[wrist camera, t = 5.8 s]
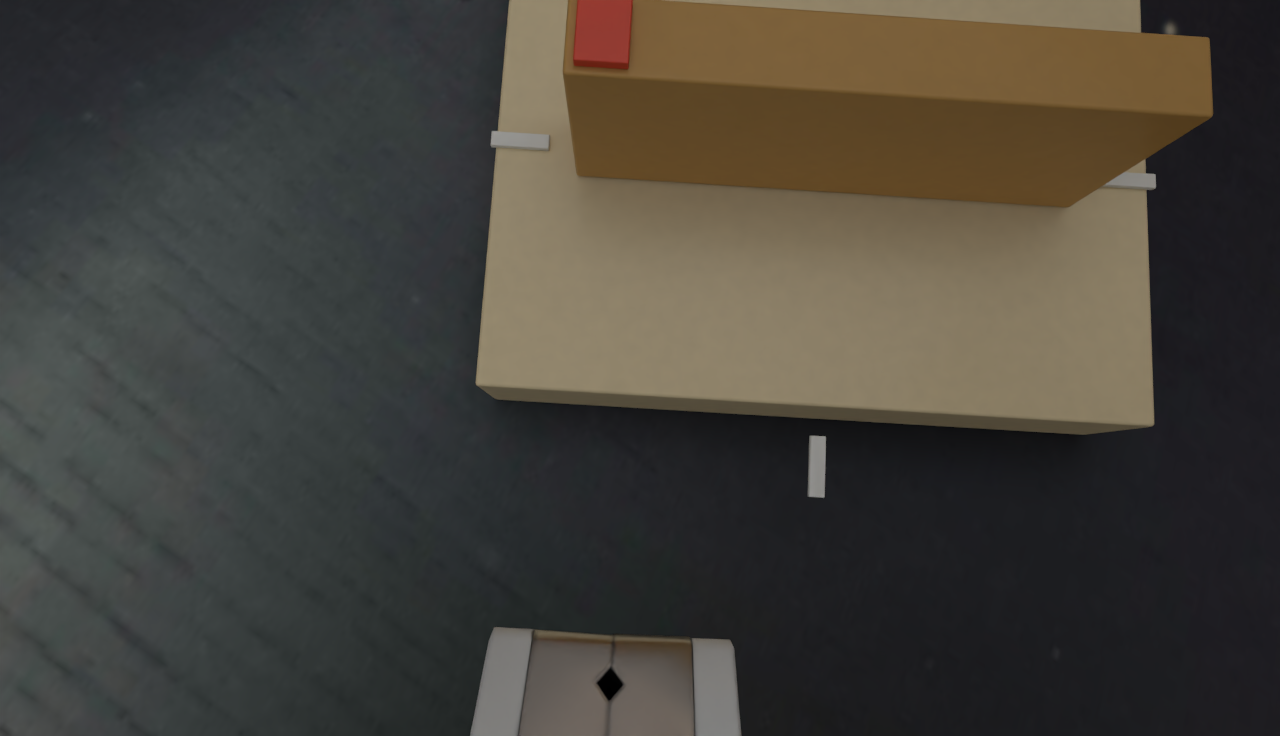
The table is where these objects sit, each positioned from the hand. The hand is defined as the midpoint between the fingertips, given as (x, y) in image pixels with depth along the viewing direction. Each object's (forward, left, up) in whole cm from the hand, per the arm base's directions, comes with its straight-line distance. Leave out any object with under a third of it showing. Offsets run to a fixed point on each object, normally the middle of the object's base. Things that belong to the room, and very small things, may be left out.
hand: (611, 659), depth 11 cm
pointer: (-5, -10, -8) cm, 14 cm away
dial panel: (-5, -10, -11) cm, 16 cm away
